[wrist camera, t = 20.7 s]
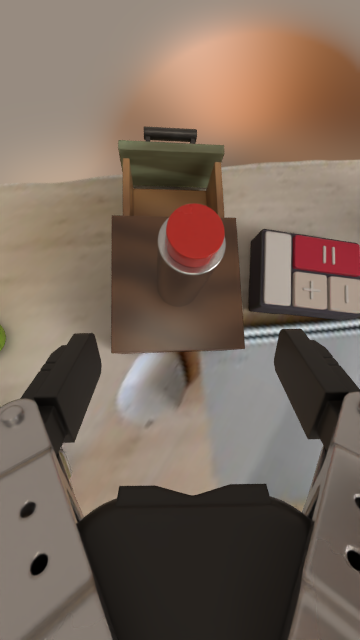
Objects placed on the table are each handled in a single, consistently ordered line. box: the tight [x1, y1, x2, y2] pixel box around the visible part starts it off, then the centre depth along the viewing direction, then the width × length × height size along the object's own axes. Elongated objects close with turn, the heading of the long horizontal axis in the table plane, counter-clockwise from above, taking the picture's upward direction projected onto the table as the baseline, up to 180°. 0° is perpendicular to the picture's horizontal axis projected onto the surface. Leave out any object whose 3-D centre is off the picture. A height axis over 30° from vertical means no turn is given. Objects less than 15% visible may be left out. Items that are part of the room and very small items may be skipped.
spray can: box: [157, 203, 226, 307], centre depth 21 cm, size 5×5×12 cm
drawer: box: [118, 127, 224, 218], centre depth 34 cm, size 18×13×7 cm
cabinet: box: [111, 215, 245, 354], centre depth 32 cm, size 15×14×8 cm
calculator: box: [249, 229, 360, 320], centre depth 36 cm, size 11×4×15 cm
